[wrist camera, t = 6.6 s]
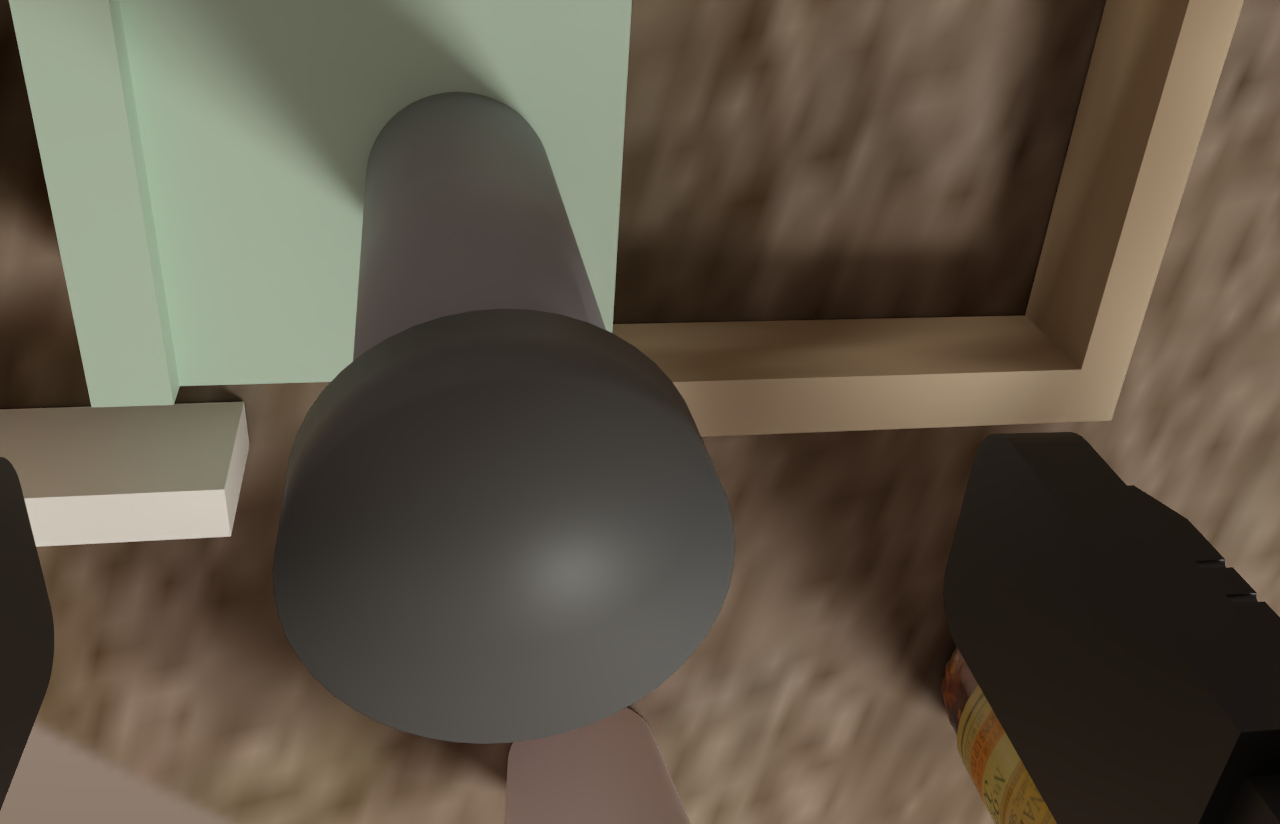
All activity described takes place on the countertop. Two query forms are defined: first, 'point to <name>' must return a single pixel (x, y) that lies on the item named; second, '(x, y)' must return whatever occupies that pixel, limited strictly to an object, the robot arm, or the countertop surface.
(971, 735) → the sauce bottle
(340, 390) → the striker
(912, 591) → the countertop surface
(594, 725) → the smoothie
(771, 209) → the countertop surface
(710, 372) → the wooden rectangular frame
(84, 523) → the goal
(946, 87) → the countertop surface
